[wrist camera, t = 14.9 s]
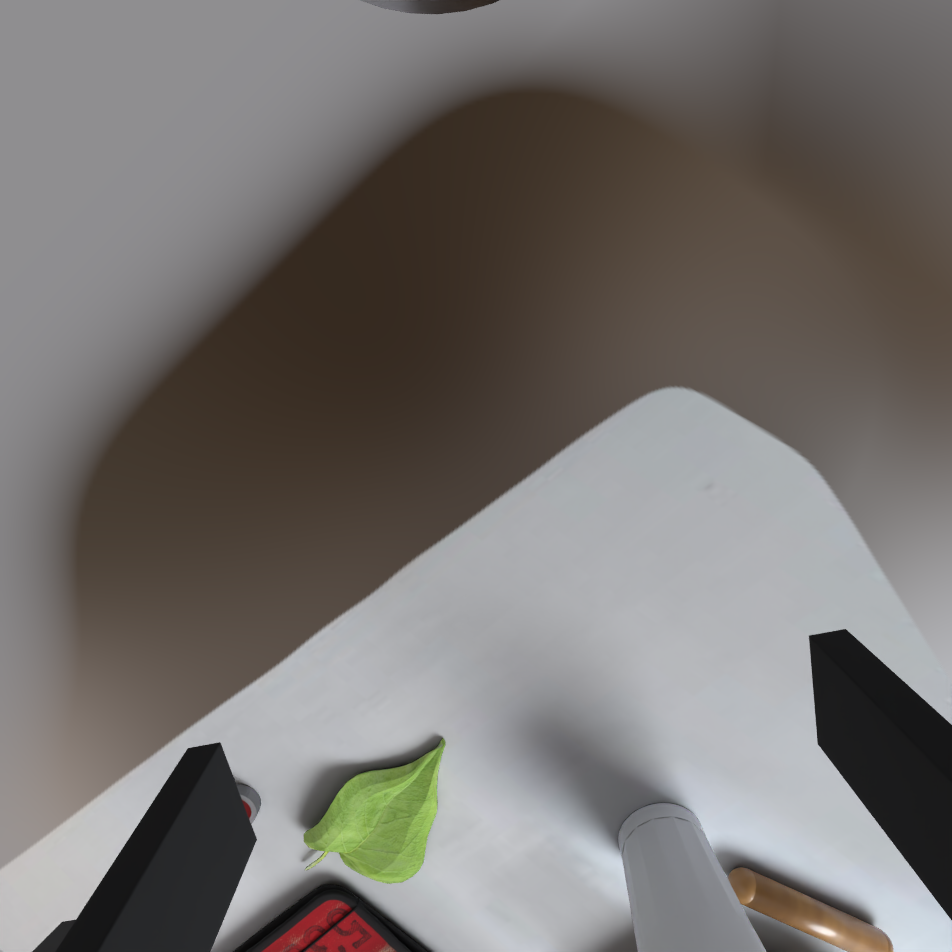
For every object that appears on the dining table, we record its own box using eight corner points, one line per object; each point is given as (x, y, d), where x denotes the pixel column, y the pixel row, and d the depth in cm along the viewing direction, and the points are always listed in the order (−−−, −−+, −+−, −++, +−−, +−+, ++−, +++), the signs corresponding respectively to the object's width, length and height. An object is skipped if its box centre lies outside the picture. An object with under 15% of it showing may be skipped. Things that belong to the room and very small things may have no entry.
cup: (585, 833, 47) (619, 1005, 36) (671, 775, 46) (735, 934, 34) (650, 896, 49) (702, 1081, 37) (735, 842, 48) (817, 1016, 36)
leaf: (271, 839, 48) (262, 861, 46) (417, 715, 45) (414, 734, 43) (356, 905, 49) (351, 929, 48) (502, 790, 46) (503, 811, 45)
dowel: (716, 877, 48) (728, 906, 46) (734, 855, 48) (746, 883, 46) (868, 945, 50) (887, 977, 48) (887, 925, 50) (907, 955, 47)
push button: (237, 777, 46) (230, 792, 45) (269, 801, 47) (262, 817, 45) (211, 800, 47) (203, 816, 46) (243, 824, 48) (235, 841, 46)
